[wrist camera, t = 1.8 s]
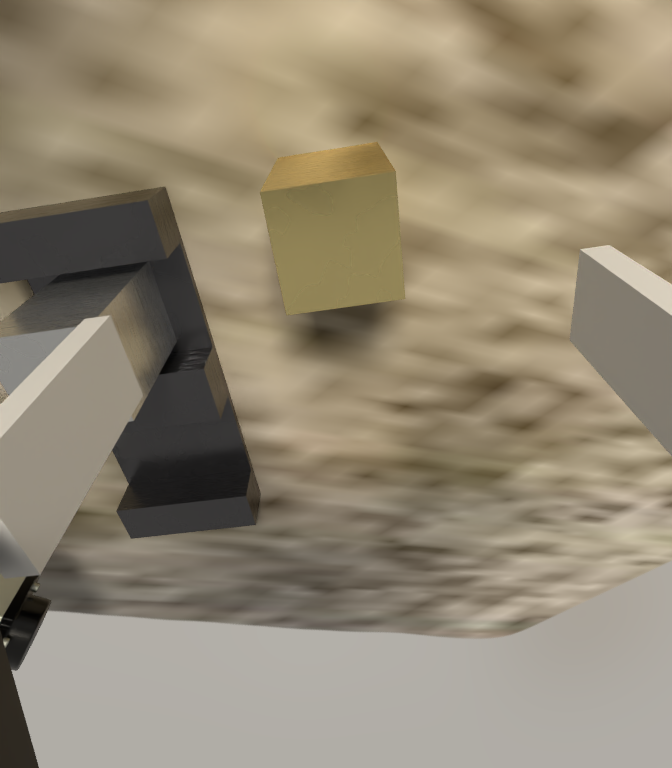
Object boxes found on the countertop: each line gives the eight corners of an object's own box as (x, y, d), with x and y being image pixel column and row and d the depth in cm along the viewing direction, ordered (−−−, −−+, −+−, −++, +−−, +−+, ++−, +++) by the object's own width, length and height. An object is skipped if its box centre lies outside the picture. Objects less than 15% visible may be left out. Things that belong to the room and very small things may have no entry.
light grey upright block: (61, 273, 28) (-24, 341, 21) (148, 260, 28) (90, 324, 21) (96, 351, 31) (31, 433, 24) (176, 340, 30) (133, 421, 23)
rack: (-1, 212, 26) (-36, 228, 24) (165, 186, 26) (147, 200, 23) (144, 507, 38) (131, 538, 36) (260, 493, 38) (255, 524, 35)
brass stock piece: (278, 157, 25) (260, 192, 19) (377, 142, 25) (395, 171, 18) (296, 254, 28) (286, 315, 21) (386, 241, 28) (405, 299, 21)
